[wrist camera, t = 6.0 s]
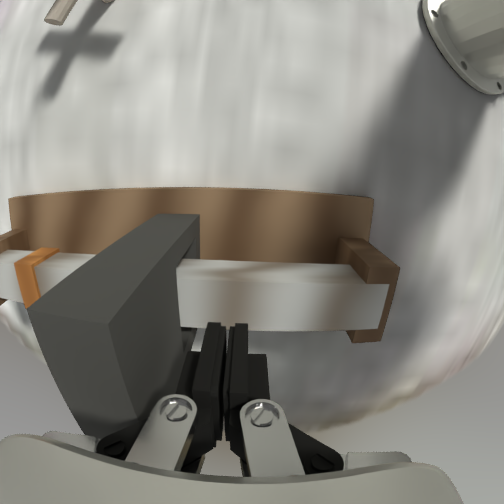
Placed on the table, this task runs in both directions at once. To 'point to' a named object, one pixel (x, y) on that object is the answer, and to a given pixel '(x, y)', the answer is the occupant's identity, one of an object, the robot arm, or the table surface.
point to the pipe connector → (62, 11)
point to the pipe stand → (220, 254)
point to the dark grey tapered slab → (120, 326)
